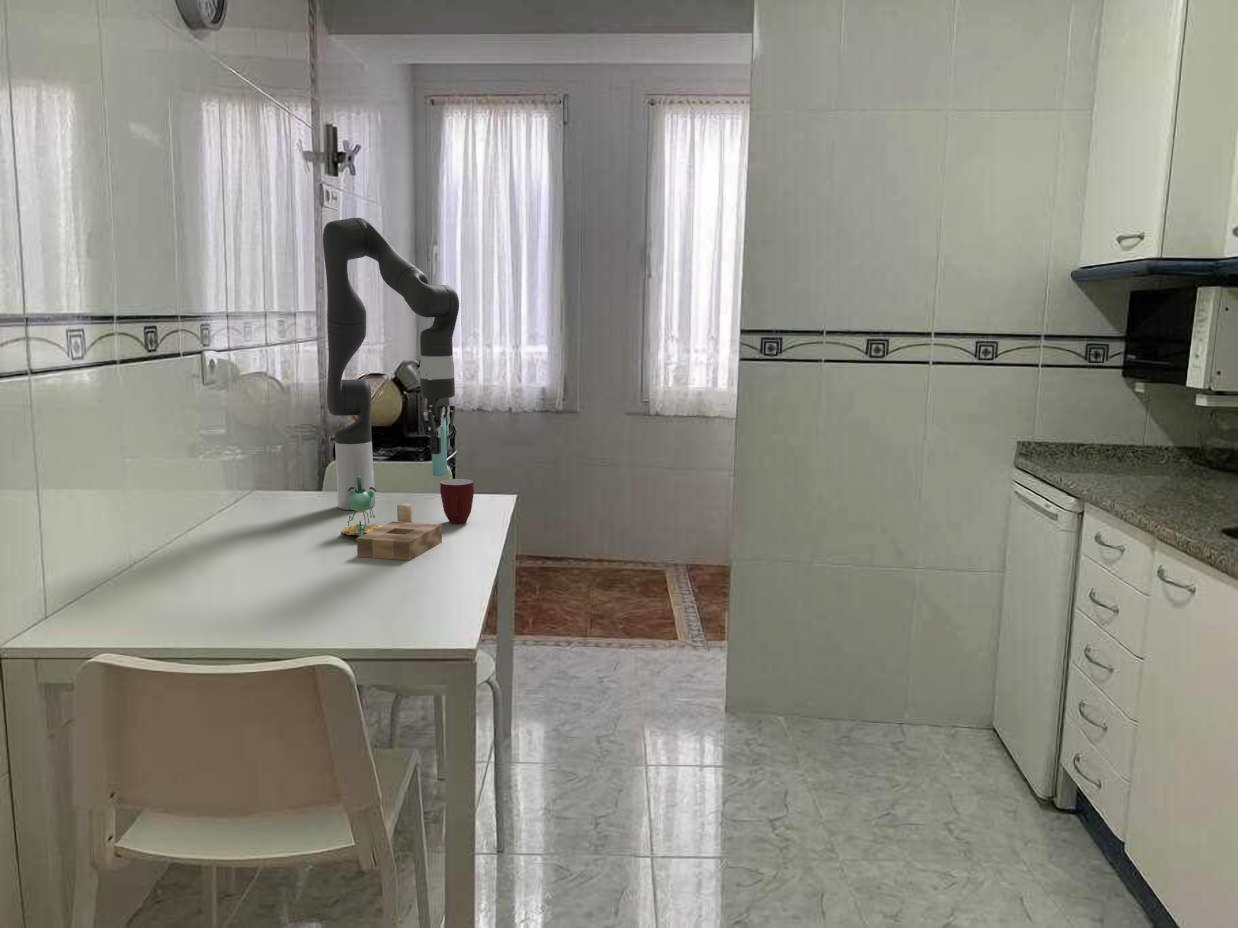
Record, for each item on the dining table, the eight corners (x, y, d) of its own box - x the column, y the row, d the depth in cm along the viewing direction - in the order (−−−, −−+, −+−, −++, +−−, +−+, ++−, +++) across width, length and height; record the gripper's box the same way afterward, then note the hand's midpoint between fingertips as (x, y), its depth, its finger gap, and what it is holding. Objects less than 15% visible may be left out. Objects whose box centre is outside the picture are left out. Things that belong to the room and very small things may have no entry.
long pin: (436, 473, 221) (435, 416, 219) (449, 473, 220) (448, 417, 218) (430, 475, 218) (428, 418, 216) (443, 476, 217) (442, 418, 215)
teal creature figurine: (327, 544, 215) (325, 478, 214) (352, 534, 233) (350, 472, 232) (370, 544, 215) (368, 478, 214) (391, 534, 233) (390, 472, 232)
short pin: (402, 532, 225) (401, 503, 224) (414, 533, 225) (413, 504, 223) (395, 536, 222) (394, 506, 221) (408, 536, 222) (407, 507, 220)
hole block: (393, 538, 220) (392, 521, 219) (441, 542, 217) (441, 524, 216) (357, 556, 205) (356, 538, 204) (409, 560, 202) (408, 542, 201)
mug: (474, 527, 231) (473, 486, 229) (440, 528, 229) (439, 487, 228) (474, 517, 241) (473, 478, 239) (441, 518, 240) (440, 479, 238)
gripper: (435, 373, 223) (437, 447, 226) (407, 378, 209) (409, 456, 212) (465, 374, 221) (467, 448, 224) (439, 379, 207) (441, 458, 210)
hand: (439, 452), depth 218 cm, fingers closed on long pin, 3 cm apart
